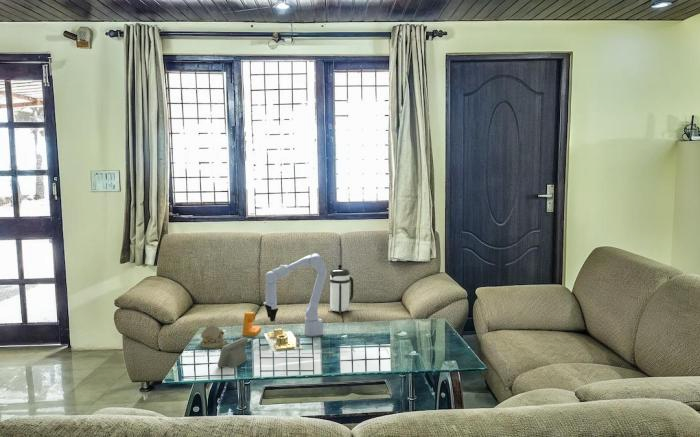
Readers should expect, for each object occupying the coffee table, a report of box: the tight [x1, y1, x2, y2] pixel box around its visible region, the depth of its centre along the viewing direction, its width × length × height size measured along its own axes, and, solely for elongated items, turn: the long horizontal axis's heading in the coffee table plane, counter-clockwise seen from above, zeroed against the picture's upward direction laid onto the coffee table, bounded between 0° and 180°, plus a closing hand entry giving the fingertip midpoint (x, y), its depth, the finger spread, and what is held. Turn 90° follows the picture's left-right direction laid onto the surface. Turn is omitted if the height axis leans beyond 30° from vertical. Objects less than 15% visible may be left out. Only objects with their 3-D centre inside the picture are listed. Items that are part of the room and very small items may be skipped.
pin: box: [294, 333, 301, 347], centre depth 259 cm, size 2×2×6 cm
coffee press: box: [327, 264, 354, 316], centre depth 324 cm, size 17×16×30 cm
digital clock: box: [217, 336, 249, 369], centre depth 237 cm, size 16×9×11 cm, turn 140°
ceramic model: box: [199, 324, 228, 349], centre depth 263 cm, size 14×11×10 cm
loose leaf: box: [267, 327, 287, 338], centre depth 275 cm, size 9×8×4 cm
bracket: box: [242, 311, 262, 337], centre depth 279 cm, size 11×7×12 cm, turn 174°
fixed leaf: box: [274, 335, 296, 352], centre depth 259 cm, size 9×13×4 cm
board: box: [263, 330, 303, 352], centre depth 267 cm, size 15×28×1 cm, turn 18°
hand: (271, 319), depth 275 cm, fingers open, 7 cm apart
